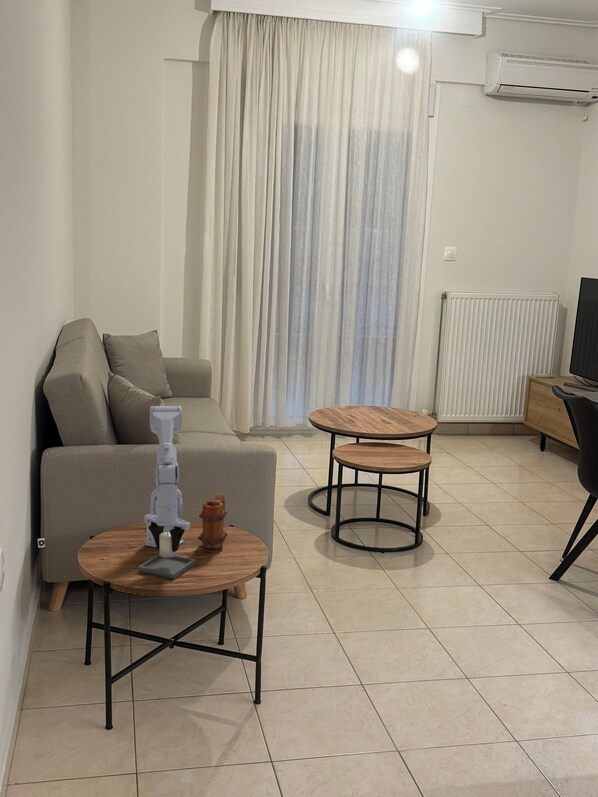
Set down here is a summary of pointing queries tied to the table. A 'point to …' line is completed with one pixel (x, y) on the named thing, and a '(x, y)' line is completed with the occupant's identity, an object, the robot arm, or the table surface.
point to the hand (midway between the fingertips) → (167, 549)
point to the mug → (213, 523)
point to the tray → (167, 566)
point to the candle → (166, 545)
